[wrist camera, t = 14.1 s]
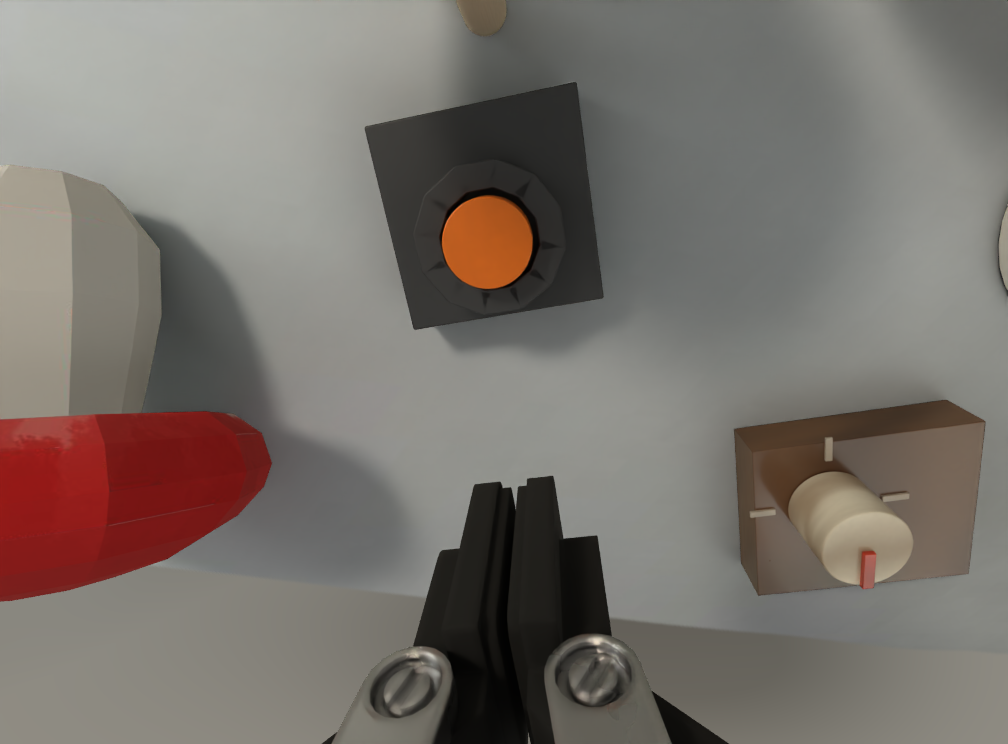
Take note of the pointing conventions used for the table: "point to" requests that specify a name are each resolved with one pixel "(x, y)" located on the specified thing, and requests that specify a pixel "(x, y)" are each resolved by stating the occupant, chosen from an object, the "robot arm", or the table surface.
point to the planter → (483, 15)
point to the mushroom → (96, 399)
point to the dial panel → (880, 466)
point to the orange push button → (487, 242)
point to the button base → (490, 171)
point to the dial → (850, 529)
